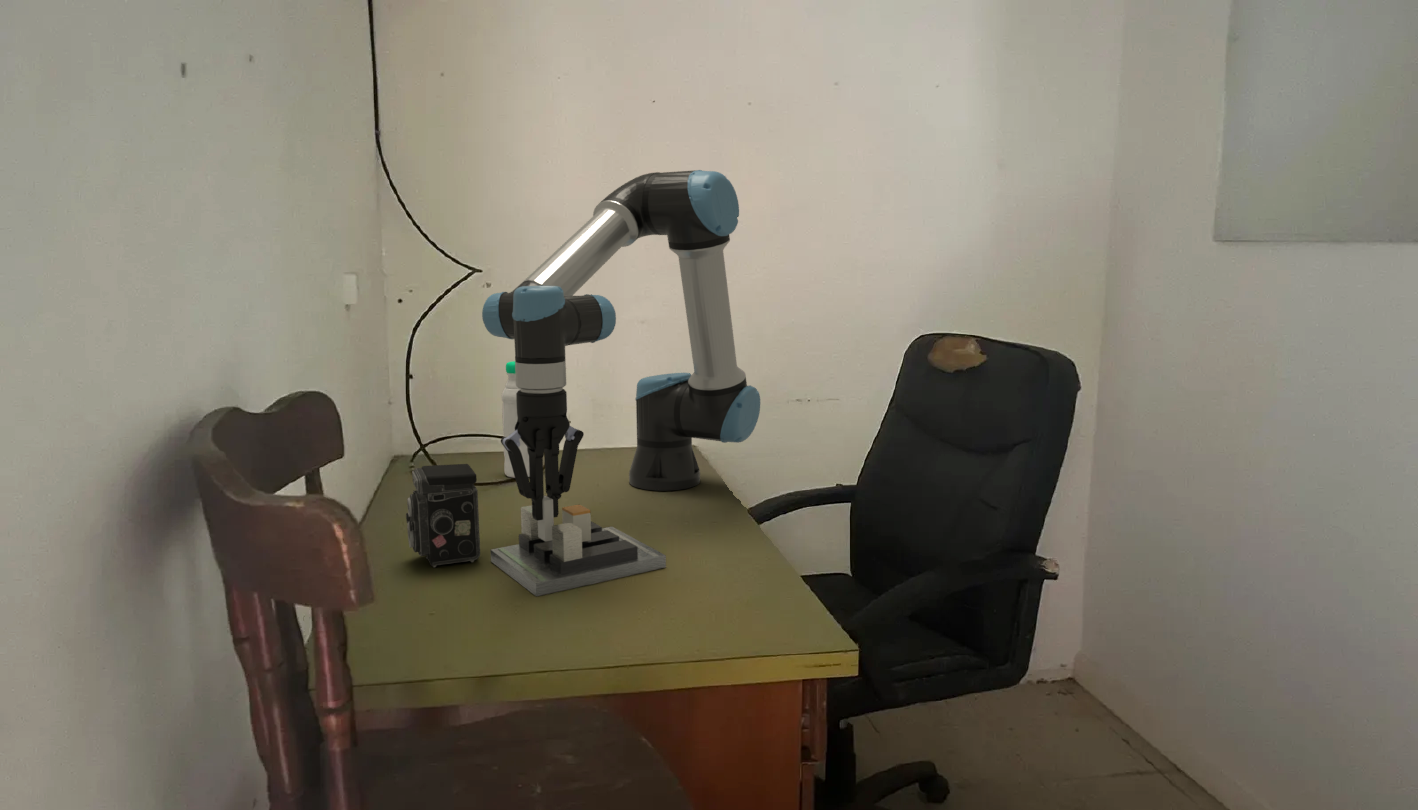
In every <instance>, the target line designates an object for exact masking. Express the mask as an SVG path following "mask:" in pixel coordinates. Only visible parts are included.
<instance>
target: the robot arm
mask: <svg viewBox="0 0 1418 810" xmlns="http://www.w3.org/2000/svg"><path fill="white" fill-rule="evenodd" d="M739 216H740V205H739V199H738V195H737V193H736V190H735V188H734V185H733V184H732V182H731V181H730V179H728V178H727V176H726V175H724V174H723V173H721V172H719V171H713V170H701V169H696V170H681V171H679V170H678V171H666V172H665V171H664V172H658V171H657V172H649V173H645V174H642V175H639V176H637V177H635V178H632V179H631V180H629V181H627V182H625V183H624V184H622V185H620V186H619V187H617V188H616V189H615V190H613V191H612V192H610V194H608V195H607V196H606V197H604V198H603V199H602V200H601V201H600V202H598V204H597V205H596V206H595V208H594V210H593V214H592V217H590V219H588V221H586V223H584V225H582V226H581V227H580V228H579V229H578V230H577V231H575V233H574V234H573V235H571V237H569V238H568V239H567V240H566V241H565V242H564V243H563V244H562V245H561V246H560V247H559V248H557V249H556V250H555V251H554V252H553V253H552V254H550V256H549V257H547V259H545V261H543V262H542V264H540V266H538V267H537V268H535V270H534V271H532V272H531V274H530V275H528V277H526V278H525V279H524V280H523V281H522V282H521V283H520V284H519V285H518V286H516V287H515V288H514V289H513V290H512V291H510V292H508V291H502V292H497V293H493V294H491V295H489V296H488V297H487V298H486V300H485V302H484V304H483V306H482V311H481V313H482V314H481V317H482V321H483V324H484V327H485V329H486V330H487V332H488V333H489V334H490V335H492V336H494V337H497V338H504V339H505V338H506V339H508V340H513V341H514V361H515V372H516V386H517V387H518V388H520V390H519V391H518V392H517V393H516V402H517V417H518V419H517V423H516V425H515V431H514V432H513V433H512V434H510V435H509V436H508V437H504V436H503V437H501V439H500V443H501V445H502V446H503V448H504V447H505V449H506V450H507V451H508V455H509V458H510V462H511V465H512V469H513V472H514V476H515V478H514V479H515V482H516V486H517V489H518V493H519V494H520V496H523V497H525V498H526V499H531V505H532V516H533V518H534V519H535V520H537V521H538V537H539V538H541V539H542V540H544V541H545V542H546V541H551V540H552V526H554V525H555V521H554V520H555V519H554V518H558V516H559V514H560V513H559V500H560V499H561V498H562V494H564V493H568V492H569V491H570V489H571V483H572V479H573V475H574V469H575V464H576V458H577V453H578V448H579V445H580V443H581V441H582V439H583V438H584V432H583V430H580V429H578V428H575V427H574V426H571V424H570V420H569V419H568V416H567V412H568V401H567V399H568V397H567V396H568V393H567V391H566V389H564V388H565V387H566V386H567V366H566V365H567V364H566V360H567V359H566V347H567V346H572V345H579V344H581V345H582V344H587V343H591V344H594V343H596V342H598V341H602V340H605V339H607V338H608V337H610V336H611V334H612V333H613V332H614V330H615V329H616V328H615V327H616V324H617V315H616V310H615V307H614V306H613V304H612V303H611V301H610V300H609V299H608V298H607V297H605V296H603V295H601V294H588V293H587V294H584V295H575V294H576V293H577V292H578V291H579V290H580V289H581V288H582V287H583V286H584V285H585V284H586V283H587V282H588V281H589V280H590V279H591V278H592V277H593V276H594V275H595V274H597V272H598V271H599V270H600V269H601V268H602V267H603V266H604V265H605V264H606V263H607V262H608V261H609V260H610V259H612V257H613V256H615V254H616V253H617V252H618V251H619V250H621V248H626V247H629V246H631V245H632V244H634V243H635V242H636V241H637V240H639V239H640V238H643V237H648V236H666V237H667V242H668V249H669V250H670V251H672V252H673V253H675V255H676V256H677V257H678V264H679V269H680V278H681V285H682V292H683V293H682V294H683V300H684V306H685V315H686V321H687V328H688V335H689V344H690V349H691V357H692V363H693V371H694V372H693V373H692V374H691V373H689V372H674V373H673V372H672V373H663V374H656V375H651V376H646V377H643V378H641V379H639V380H638V382H637V384H636V390H635V391H636V393H635V399H634V400H635V403H636V404H635V406H636V407H635V409H636V410H635V411H636V412H635V415H636V449H635V452H634V456H633V458H632V462H631V465H630V469H629V472H628V481H629V484H630V485H631V486H633V487H635V488H637V489H641V490H646V491H661V492H662V491H665V492H666V491H669V492H670V491H679V490H686V489H691V488H693V487H696V486H697V485H699V484H700V483H701V470H700V467H699V463H698V461H697V458H696V455H695V451H694V448H693V442H692V441H693V440H692V439H699V440H707V441H713V442H714V441H715V442H721V443H725V444H726V443H736V444H737V443H742V442H745V441H746V440H747V439H749V437H750V436H751V435H752V434H753V432H754V430H755V427H756V426H757V423H758V420H759V416H760V413H761V412H760V411H761V396H760V392H759V390H758V389H757V388H756V387H755V386H752V385H748V383H747V376H746V372H745V371H744V370H743V369H741V368H740V367H738V364H737V354H736V346H735V339H734V329H733V322H732V313H731V306H730V297H729V287H728V281H727V280H728V279H727V271H726V262H725V256H724V255H725V254H724V249H725V248H726V247H727V245H728V244H729V243H730V241H731V239H730V234H732V233H733V232H734V231H735V230H736V228H737V227H738V223H739V220H738V218H739ZM520 438H521V440H522V441H523V442H524V443H525V445H526V446H527V451H528V454H529V473H530V477H528V475H527V471H526V468H525V464H524V461H523V457H522V454H521V451H520V449H519V448H518V447H519V446H520V441H519V439H520ZM564 438H565V440H564V443H563V448H562V453H561V459H560V464H559V454H560V444H561V442H562V441H563V439H564ZM543 457H544V460H543ZM543 463H544V464H543ZM544 480H545V481H544ZM544 483H545V490H544ZM544 491H545V493H544ZM545 494H546V495H545Z"/></svg>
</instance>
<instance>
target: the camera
mask: <svg viewBox="0 0 1418 810" xmlns="http://www.w3.org/2000/svg"><path fill="white" fill-rule="evenodd" d="M411 473H412V483H413V487H415V490H413V492H412V493H411V494H410V495H409V497H408V498H407V499H406V501H407V503H406V504H407V512H406V513H405V518H406V524H407V528H406V529H407V540H408V546H409V548H411V549H412V550H413V552H414V553H418V555H419V556H420V557H425V556H426V557H425V558H426V559H427V561H428V563H429V565H430V567H433V568H436V567H437V566H441V565H449V564H454V563H455V564H458V563H464V562H470V563H474V562H475V560H478V559H479V557H480V555H481V542H480V541H481V540H480V539H481V538H480V536H481V535H480V516H479V515H480V513H479V497H478V496H479V495H478V494H479V492H478V489H477V487H476V485H475V484H476V483H477V474H476V472H475V471H474V470H473V468H472V467H471V466H470V464H468V463H458V464H454V463H453V464H438V465H437V464H435V465H432V464H431V465H422V466H421V467H416V468H415V469H414V470H412V472H411Z"/></svg>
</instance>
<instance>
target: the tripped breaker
mask: <svg viewBox="0 0 1418 810" xmlns="http://www.w3.org/2000/svg"><path fill="white" fill-rule="evenodd" d="M561 515H562V519H561V520H562V523H561V524H565V523H572V524H573V525H575V526H577V527H579V528H580V529H582V542H585V541H590V540H591V521H592V520H591V518H592V517H591V509H589V508H587V507H585V506H583V505H581V504H580V503H579V504H575V505H568V506H563V507H561Z"/></svg>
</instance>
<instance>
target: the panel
mask: <svg viewBox="0 0 1418 810" xmlns="http://www.w3.org/2000/svg"><path fill="white" fill-rule="evenodd" d="M520 522H521V526H520V527H521V533H520V534H518V544H513V545H507V546H501V547H497V548H492V549H490V562H491V563H492V564H494V565H495V566H496V567H498V568H499V569H500V570H501V571H503V572H504V573H505V574H506V575H508V576H509V577H510V578H512V579H513V580H514V581H516V582H517V583H518V584H520V585H521V586H522V587H523V588H525V590H527V591H528V592H530V593H531V594H532V595H534V596H535V597H540V596H545V595H549V594H555V593H558V592H562V591H568V590H571V589H576V588H580V587H586V586H590V585H594V584H597V583H603V582H607V581H612V580H616V579H621V578H625V577H630V576H633V575H639V574H642V573H643V574H644V573H646V572H651V571H655V570H660V569H661V570H662V569H664V568H665V569H666V568H667V563H666V561H667V556H666V554H664V553H662V552H660V551H659V550H657V549H655V548H653V547H651V546H649V545H647V544H646V543H644V542H642V541H641V540H638V539H636V538H634V537H632V536H631V535H629V534H627V533H625V532H623V531H621V530H620V529H618V528H616V527H614V526H609V527H608V526H607V527H602V526H601V525H599V524H598V523H595V522H593V521H592V520H591V540H590V541H585V542H582V529H580V528H579V527H577V526H575V525H573V524H572V523H565V524H563V523H560V524H554V526H552V540H551V541H546V542H545V541H544V540H542V539H541V538H539V537H538V521H537V520H535V519H534V518H533V516H532V504H531V505H525V506H520Z"/></svg>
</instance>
